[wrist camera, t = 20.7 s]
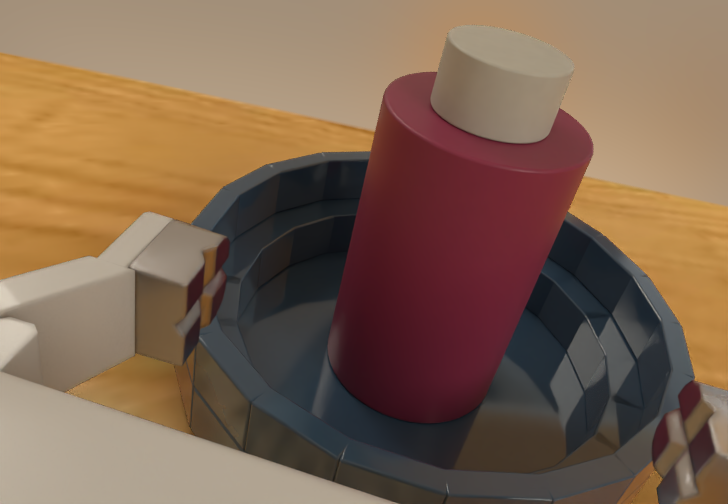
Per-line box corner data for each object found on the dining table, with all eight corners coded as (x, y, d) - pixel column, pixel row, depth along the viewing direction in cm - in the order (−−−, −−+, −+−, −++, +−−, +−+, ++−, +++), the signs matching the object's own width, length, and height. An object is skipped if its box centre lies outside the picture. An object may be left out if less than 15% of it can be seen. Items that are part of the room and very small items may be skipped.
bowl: (612, 302, 29) (656, 221, 26) (660, 682, 16) (751, 595, 14) (272, 200, 30) (284, 114, 27) (72, 481, 17) (61, 369, 15)
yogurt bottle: (494, 330, 25) (614, 45, 19) (482, 447, 20) (636, 122, 14) (349, 286, 25) (419, -7, 19) (305, 391, 21) (378, 51, 14)
